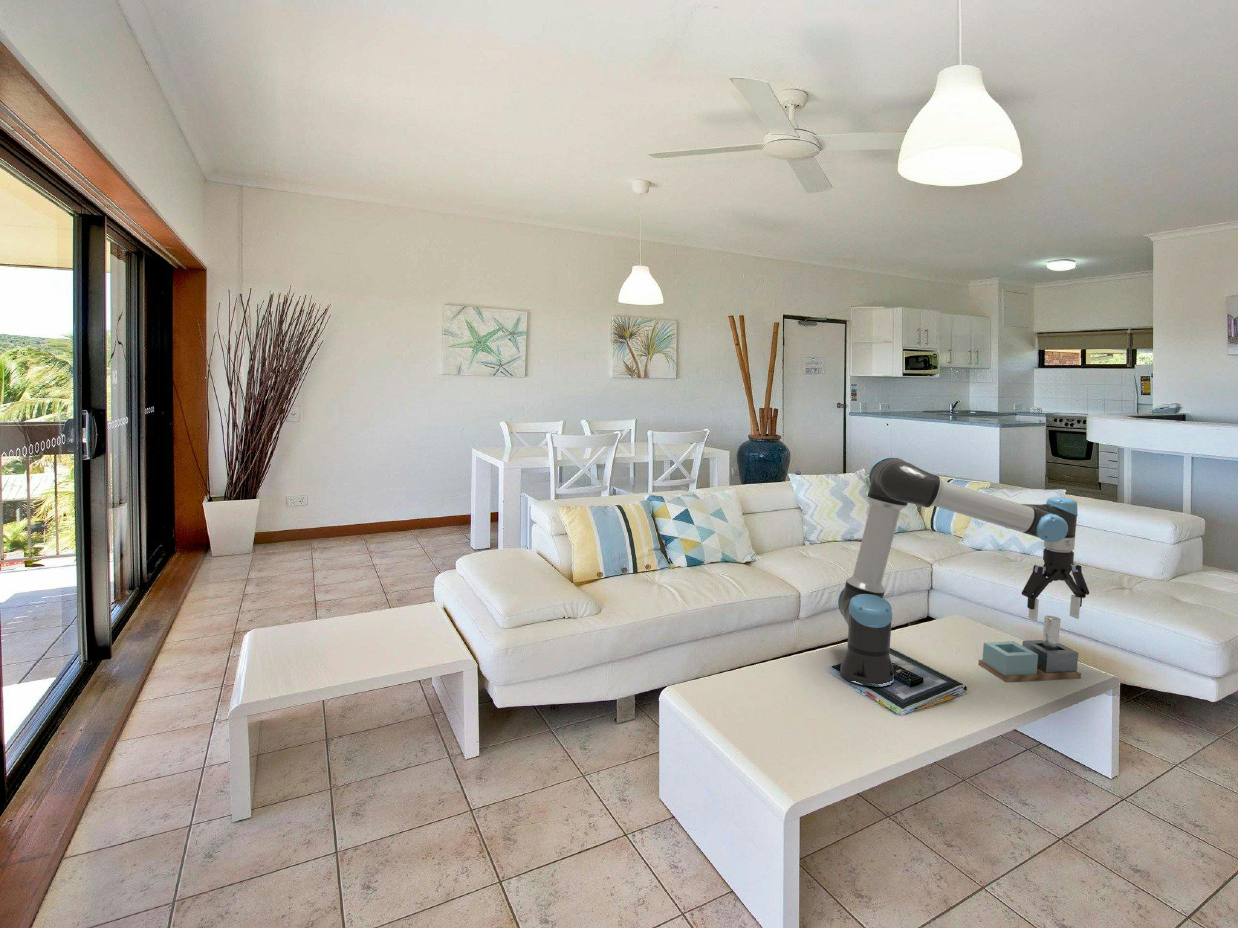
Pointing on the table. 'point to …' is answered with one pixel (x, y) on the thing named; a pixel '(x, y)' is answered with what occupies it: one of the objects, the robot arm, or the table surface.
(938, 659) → the table surface
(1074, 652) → the socket block
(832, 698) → the table surface
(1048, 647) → the translucent peg
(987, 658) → the teal square holder
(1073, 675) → the tool board
